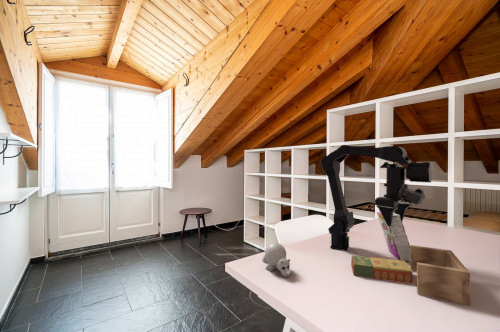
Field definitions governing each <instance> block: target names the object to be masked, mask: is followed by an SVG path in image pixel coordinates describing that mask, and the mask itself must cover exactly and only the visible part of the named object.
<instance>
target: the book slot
mask: <svg viewBox="0 0 500 332" xmlns="http://www.w3.org/2000/svg"><path fill="white" fill-rule="evenodd" d="M409 261H410V268H411V270H412V272H416V293H417V295H418V296H423V297H428V298H433V299H438V300H442V301H447V302H451V303H456V304H461V305H465V306H469V307H471V271H469V270H468V268H466V266H465V265H464V264H463V263H462V261H460V259H459V258H458V257H457V255H455V253H454V252H453V251H452V250H450V249H444V248H436V247H428V246H420V245H414V244H413V245H412V244H410V260H409Z"/></svg>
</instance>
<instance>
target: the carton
mask: <svg viewBox="0 0 500 332" xmlns="http://www.w3.org/2000/svg"><path fill="white" fill-rule="evenodd" d="M350 265H351V270H352V274H353V276H354V277H360V278H369V279H375V280H382V281H391V282H396V283H397V282H398V283H405V284H412V285H413V284H414V271H412V270H411V266H409V264H408V263H407V262H406V261H403V260H398V259H391V258H382V257H381V258H380V257H372V256H363V255H353V254H352V255H351V264H350Z"/></svg>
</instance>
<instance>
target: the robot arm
mask: <svg viewBox="0 0 500 332" xmlns="http://www.w3.org/2000/svg"><path fill="white" fill-rule="evenodd" d="M350 155H352V156H359V157H360V156H363V157H370V158H371V157H372V158H377V159H380V160H383V161H385V162H384V163H382V164H381V165H380V166H379V168H380V169H385V170H386V177H385V179H386V180H385V181H386V182H385V183H383V187H386V188H385V194H383V196H379V197H376V198H375V199H374V205H375V206H376V207H377V208H378V210H379V212H381V214H382V216H383V218H384V220H385V222H386V224H387V226H391V224H392V219H393V212H394V213H396V214H398V215H400V217H401V220H402V222H403V220H404V217H405V215H406V212H407V210H408V208H409V207H412V206H413V204H414V205H417V206H419V204H422V203H423V200H425V199H426V194H425V193H424V190H423V189H421V188H416V189H415V190H414V189H411V188H409V185H408V183H406V179H408V180H409V181H410V182H411V183H412V182H414V183H429V184H430V183H432V179H433V171H432V166H431V164H432V163H431V161H423V162H413V161H412V160H411V159H410V158H409V156H408V152H407V150H406V149H405V148H404V147H401V146H397V145H390V146H389V145H385V146H381V147H379V146H378V147H373V146H360V145H359V146H357V145H348V144H342V145H340V146H339V147H338V148H337V149H335V150H334V151H332V152H330V153H329V154H328V155H325V156H323V157H322V159H321V160H320V165H321V168H322V171H323V172H324V174H325V175H326V177H327V179H328V184H329V189H330V193H331V198H332V201H333V202H332V203H333V207H334V213H333V224H332V225H331V226H329V228H328V229H327V230H328V232H329V234H330V247H329V248H330V249H334V250H341V251H348V249H349V248H350V236H349V232H350V230H351V229H352V228H353V227H354V224H355V222H356V219H355V217H354V212H353V211H350V210H349V209H348V207H347V204H346V203H347V202H346V201H345V196H344V192H343V187H342V186H343V185H342V182H341V178H340V172H341V163H343V162H344V161H345V160H346V158H347V157H348V156H350ZM389 162H391V163H389ZM400 165H403V166H400Z"/></svg>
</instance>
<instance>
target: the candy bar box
mask: <svg viewBox="0 0 500 332" xmlns="http://www.w3.org/2000/svg"><path fill="white" fill-rule="evenodd" d="M376 214H377V217H378V221H379V224H380V226H381V230H382V232H383V236H384V239H385V242H386V246H387V249H388V252H390V253H391V254H392V255H393V256H394V257H395V259H396V260H403V261H405V262H406V261H407V262H408V261H410V245H411V244H410V243H409V237H408V235H407V233H406V230H405V226H404V224H403V221H402V220H401V217H400V215H398V214H396V213H395V211H394V212H393V219H392V224H391V226H387V224H386V222H385V220H384V218H383V216H382V214H381V212H380V211H377V212H376Z"/></svg>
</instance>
